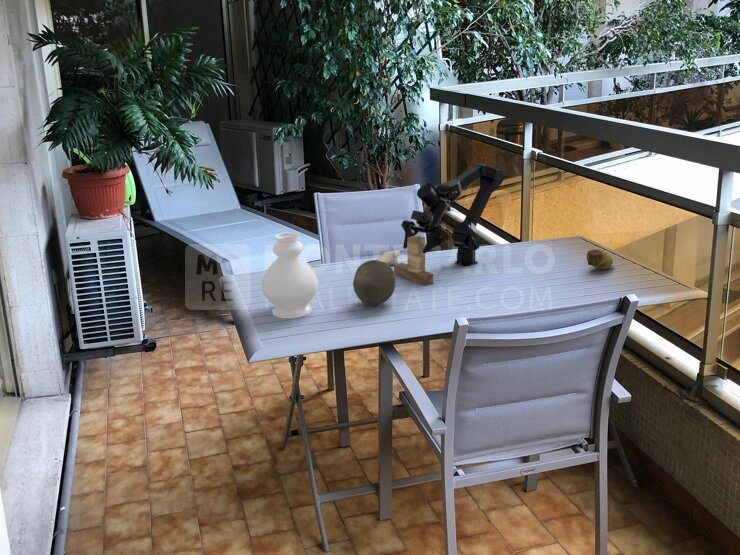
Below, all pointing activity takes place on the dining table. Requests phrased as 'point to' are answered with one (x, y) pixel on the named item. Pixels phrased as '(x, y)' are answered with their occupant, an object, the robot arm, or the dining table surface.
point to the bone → (389, 257)
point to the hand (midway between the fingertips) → (413, 250)
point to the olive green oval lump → (599, 259)
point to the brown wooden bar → (413, 274)
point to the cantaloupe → (374, 282)
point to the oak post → (416, 253)
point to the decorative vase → (289, 279)
